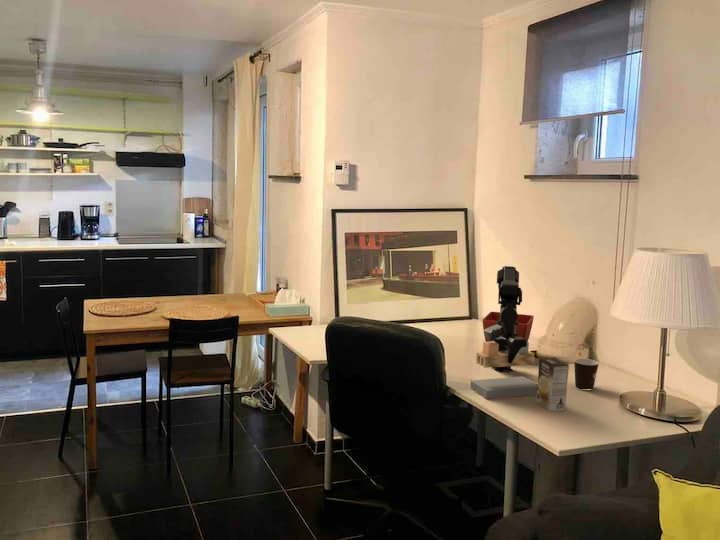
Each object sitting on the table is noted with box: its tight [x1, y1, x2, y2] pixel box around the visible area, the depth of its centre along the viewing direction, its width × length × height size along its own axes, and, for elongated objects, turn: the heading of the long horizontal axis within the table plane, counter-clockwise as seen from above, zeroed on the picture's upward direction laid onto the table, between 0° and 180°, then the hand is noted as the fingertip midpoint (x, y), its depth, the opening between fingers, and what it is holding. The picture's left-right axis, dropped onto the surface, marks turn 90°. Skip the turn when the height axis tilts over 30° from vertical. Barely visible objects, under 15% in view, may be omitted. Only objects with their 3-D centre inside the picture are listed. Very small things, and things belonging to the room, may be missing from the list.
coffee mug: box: [573, 358, 599, 390], centre depth 255 cm, size 12×9×10 cm
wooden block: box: [475, 350, 535, 369], centre depth 248 cm, size 20×6×4 cm, turn 108°
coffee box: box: [535, 356, 570, 412], centre depth 232 cm, size 9×6×16 cm
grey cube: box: [518, 341, 530, 354], centre depth 249 cm, size 4×4×4 cm
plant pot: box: [481, 311, 534, 342], centre depth 296 cm, size 19×19×17 cm
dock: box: [470, 375, 538, 400], centre depth 248 cm, size 22×12×3 cm, turn 108°
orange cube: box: [482, 341, 499, 356], centre depth 245 cm, size 4×4×4 cm
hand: (505, 360), depth 248 cm, fingers closed on wooden block, 6 cm apart
